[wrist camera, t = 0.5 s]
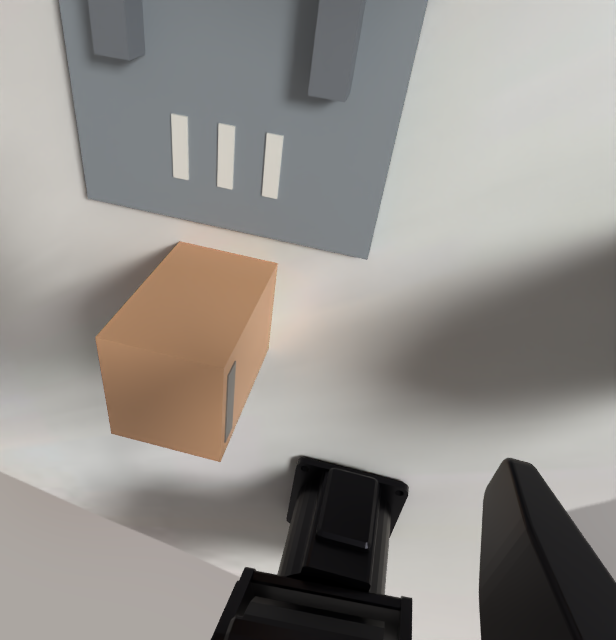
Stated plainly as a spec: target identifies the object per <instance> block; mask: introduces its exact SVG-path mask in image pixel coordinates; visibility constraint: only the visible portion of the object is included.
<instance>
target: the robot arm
mask: <svg viewBox="0 0 616 640" xmlns="http://www.w3.org/2000/svg"><path fill="white" fill-rule="evenodd" d="M408 489H409V487H408V485H407V484H405V483H403V482H400V481H396V480H392V479H388V478H384V477H380V476H376V475H372V474H368V473H364V472H360V471H357V470H353V469H349V468H345V467H341V466H337V465H333V464H329V463H325V462H321V461H317V460H314V459H310V458H300V459H299V460H298V463H297V467H296V472H295V477H294V482H293V488H292V493H291V498H290V503H289V509H288V514H287V521H288V522H289V523H290V527H289V531H288V535H287V539H286V543H285V547H284V551H283V555H282V559H281V563H280V566H279V570H278V574H277V575H275V574H270V573H265V572H259V571H256V569H254V568H248V567H245V568H244V571H243V573H242V575H241V577H240V580H239V581H237V582H236V584H235V587H234V589H233V591H232V593H231V596H230V598H229V600H228V602H227V605H226V607H225V609H224V611H223V613H222V616H221V618H220V620H219V623H218V625H217V627H216V629H215V632H214V634H213V636H212V638H211V640H412V598H409V597H404V596H401V598H398V597H393V596H387V595H385V583H386V571H387V559H388V547H389V538H390V536H391V533H392V531H393V529H394V526H395V524H396V522H397V520H398V517H399V515H400V513H401V510H402V508H403V506H404V504H405V501H406V499H407V497H408ZM479 609H480V626H481V640H616V582H615V581H614V579H613V578H612V576H611V575H610V573H609V572H608V571H607V569H606V568H605V567H604V565H603V564H602V562H601V561H600V559H599V558H598V556H597V555H596V553H595V552H594V551H593V549H592V548H591V546H590V545H589V543H588V542H587V541H586V539H585V538H584V536H583V535H582V533H581V532H580V531H579V529H578V528H577V526H576V525H575V523H574V522H573V521H572V519H571V518H570V516H569V515H568V513H567V512H566V511H565V509H564V508H563V506H562V505H561V503H560V502H559V501H558V499H557V498H556V496H555V495H554V493H553V492H552V491H551V489H550V488H549V486H548V485H547V483H546V482H545V481H544V479H543V478H542V476H541V475H540V473H539V472H538V471H537V469H536V468H535V467H534V466H533V465H532V464H530V463H528V462H524V461H520V460H516V459H513V458H506V459H505V460H503V462H502V463H501V464H500V466H499V468H498V469H497V471H496V473H495V474H494V476H493V478H492V479H491V481H490V483H489V484H488V486H487V488H486V490H485V494H484V500H483V517H482V535H481V554H480V573H479Z"/></svg>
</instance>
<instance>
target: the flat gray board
mask: <svg viewBox="0 0 616 640" xmlns="http://www.w3.org/2000/svg"><path fill="white" fill-rule="evenodd" d="M427 2H428V0H59V6H60V12H61V19H62V26H63V33H64V40H65V46H66V53H67V60H68V67H69V74H70V80H71V87H72V94H73V101H74V107H75V114H76V121H77V128H78V135H79V141H80V148H81V155H82V162H83V168H84V175H85V182H86V189H87V196H88V199H93V200H98V201H102V202H107V203H111V204H116V205H120V206H125V207H129V208H134V209H139V210H143V211H148V212H152V213H157V214H161V215H166V216H170V217H175V218H180V219H184V220H189V221H193V222H198V223H202V224H207V225H211V226H216V227H221V228H225V229H230V230H234V231H239V232H243V233H248V234H252V235H257V236H262V237H266V238H271V239H275V240H280V241H284V242H289V243H293V244H298V245H303V246H307V247H312V248H316V249H321V250H325V251H330V252H334V253H339V254H344V255H348V256H353V257H357V258H362V259H366V260H367V259H368V255H369V250H370V246H371V242H372V238H373V233H374V229H375V225H376V220H377V216H378V212H379V208H380V203H381V199H382V195H383V191H384V186H385V182H386V178H387V173H388V169H389V165H390V161H391V156H392V152H393V148H394V144H395V139H396V135H397V131H398V126H399V122H400V118H401V114H402V109H403V105H404V101H405V97H406V92H407V88H408V84H409V79H410V75H411V71H412V67H413V62H414V58H415V54H416V49H417V45H418V41H419V37H420V32H421V28H422V24H423V20H424V15H425V11H426V7H427Z"/></svg>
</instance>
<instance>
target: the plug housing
mask: <svg viewBox="0 0 616 640" xmlns="http://www.w3.org/2000/svg"><path fill="white" fill-rule="evenodd" d="M277 265H278V263H274V262H270V261H265V260H261V259H256V258H252V257H247V256H243V255H238V254H234V253H229V252H225V251H220V250H216V249H211V248H207V247H202V246H198V245H194V244H189V243H185V242H179V243H178V244H177V245H176V246H175V247H174V248H173V249H172V251H171V252H170V253H169V254H168V255H167V256H166V257H165V259H164V260H163V261H162V262H161V263H160V264H159V265H158V267H157V268H156V269H155V270H154V271H153V272H152V273H151V274H150V276H149V277H148V278H147V279H146V280H145V281H144V282H143V284H142V285H141V286H140V287H139V288H138V289H137V290H136V292H135V293H134V294H133V295H132V296H131V297H130V298H129V299H128V301H127V302H126V303H125V304H124V305H123V306H122V307H121V309H120V310H119V311H118V312H117V313H116V314H115V315H114V316H113V318H112V319H111V320H110V321H109V322H108V323H107V324H106V326H105V327H104V328H103V329H102V330H101V331H100V332H99V334H98V335H97V336H96V337H95V338H96V344H97V350H98V356H99V362H100V368H101V374H102V380H103V386H104V392H105V398H106V404H107V410H108V416H109V422H110V428H111V434H115V435H119V436H123V437H127V438H130V439H134V440H138V441H142V442H146V443H149V444H153V445H157V446H161V447H165V448H169V449H172V450H176V451H180V452H184V453H188V454H192V455H195V456H199V457H203V458H207V459H211V460H214V461H218V462H221V459H222V457H223V455H224V452H225V450H226V448H227V445H228V443H229V441H230V438H231V436H232V434H233V431H234V429H235V426H236V424H237V422H238V419H239V417H240V415H241V412H242V410H243V408H244V405H245V403H246V401H247V398H248V396H249V393H250V391H251V389H252V386H253V384H254V382H255V379H256V377H257V375H258V372H259V370H260V368H261V365H262V363H263V361H264V358H265V356H266V353H267V351H268V348H269V339H270V330H271V320H272V311H273V302H274V293H275V283H276V274H277Z"/></svg>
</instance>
